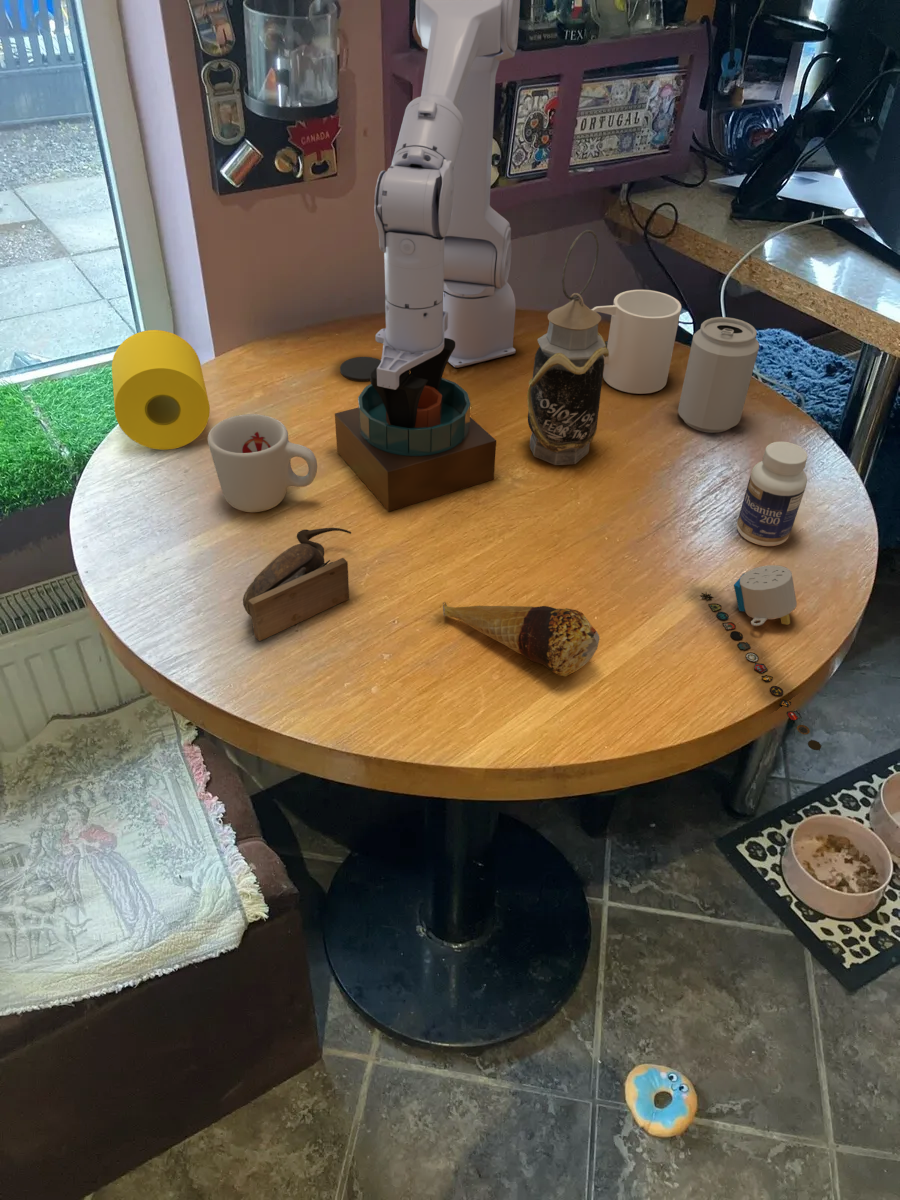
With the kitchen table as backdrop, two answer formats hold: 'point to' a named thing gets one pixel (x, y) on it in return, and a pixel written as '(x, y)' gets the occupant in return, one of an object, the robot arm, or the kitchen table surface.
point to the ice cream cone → (535, 633)
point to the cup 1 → (256, 461)
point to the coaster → (359, 368)
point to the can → (718, 374)
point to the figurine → (296, 586)
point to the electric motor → (766, 594)
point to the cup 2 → (640, 340)
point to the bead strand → (761, 670)
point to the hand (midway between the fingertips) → (414, 418)
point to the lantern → (567, 380)
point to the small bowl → (428, 408)
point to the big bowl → (416, 438)
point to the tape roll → (159, 390)
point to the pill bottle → (773, 495)
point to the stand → (415, 464)
